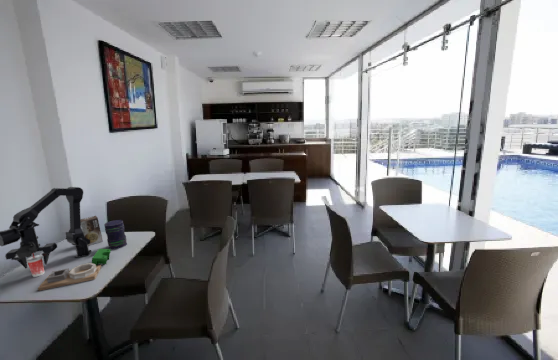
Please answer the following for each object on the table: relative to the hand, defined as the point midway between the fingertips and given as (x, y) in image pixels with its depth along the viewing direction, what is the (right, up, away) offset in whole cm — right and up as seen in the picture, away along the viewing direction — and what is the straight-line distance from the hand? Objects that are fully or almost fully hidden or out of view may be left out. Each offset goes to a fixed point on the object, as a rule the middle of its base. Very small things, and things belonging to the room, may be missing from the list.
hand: (36, 266), depth 137 cm
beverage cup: (0, -5, +1) cm, 5 cm away
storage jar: (+23, +3, +30) cm, 38 cm away
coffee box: (+4, +3, +37) cm, 37 cm away
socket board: (+21, -4, -4) cm, 22 cm away
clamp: (+27, -1, +10) cm, 29 cm away
